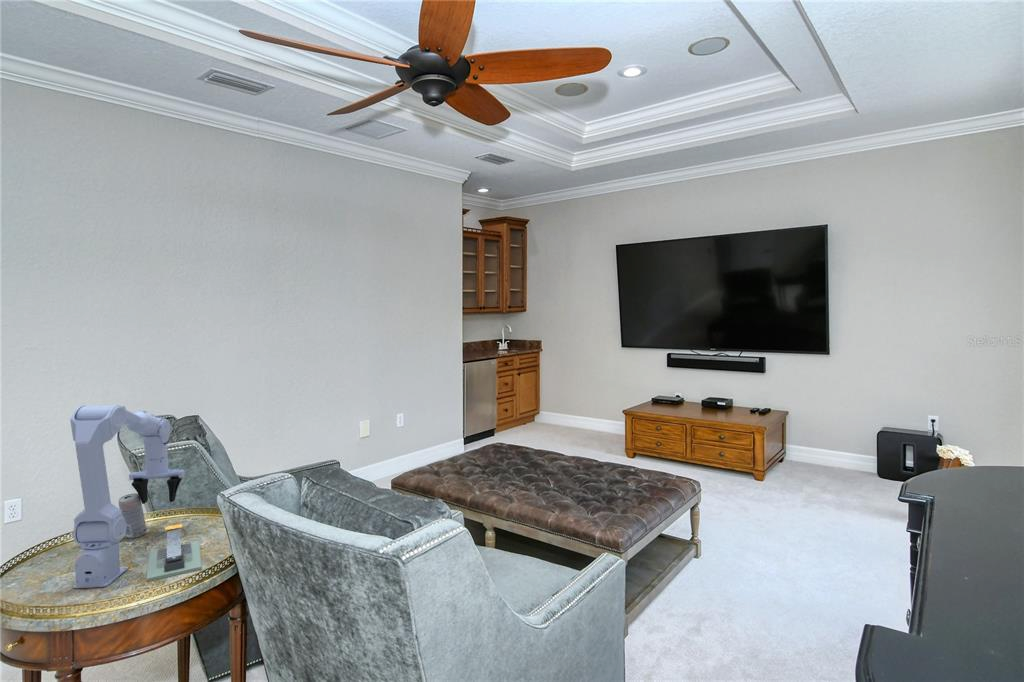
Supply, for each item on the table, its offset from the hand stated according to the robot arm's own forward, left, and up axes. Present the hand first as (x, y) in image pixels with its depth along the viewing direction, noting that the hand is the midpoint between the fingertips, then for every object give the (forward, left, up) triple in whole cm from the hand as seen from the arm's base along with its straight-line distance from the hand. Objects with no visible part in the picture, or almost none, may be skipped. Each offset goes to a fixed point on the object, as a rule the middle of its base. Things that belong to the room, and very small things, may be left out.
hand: (158, 501), depth 166 cm
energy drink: (0, +7, -10) cm, 12 cm away
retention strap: (-20, -13, -5) cm, 24 cm away
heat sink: (-19, -13, -10) cm, 25 cm away
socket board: (-19, -13, -10) cm, 25 cm away
